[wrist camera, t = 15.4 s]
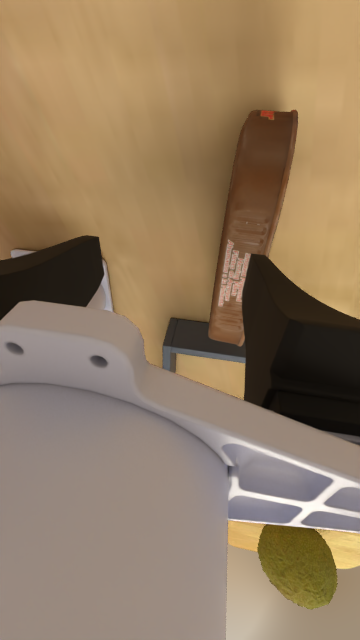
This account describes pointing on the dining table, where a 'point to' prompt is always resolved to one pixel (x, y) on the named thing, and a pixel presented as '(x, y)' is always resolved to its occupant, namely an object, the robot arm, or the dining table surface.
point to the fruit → (298, 564)
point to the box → (196, 344)
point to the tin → (251, 212)
